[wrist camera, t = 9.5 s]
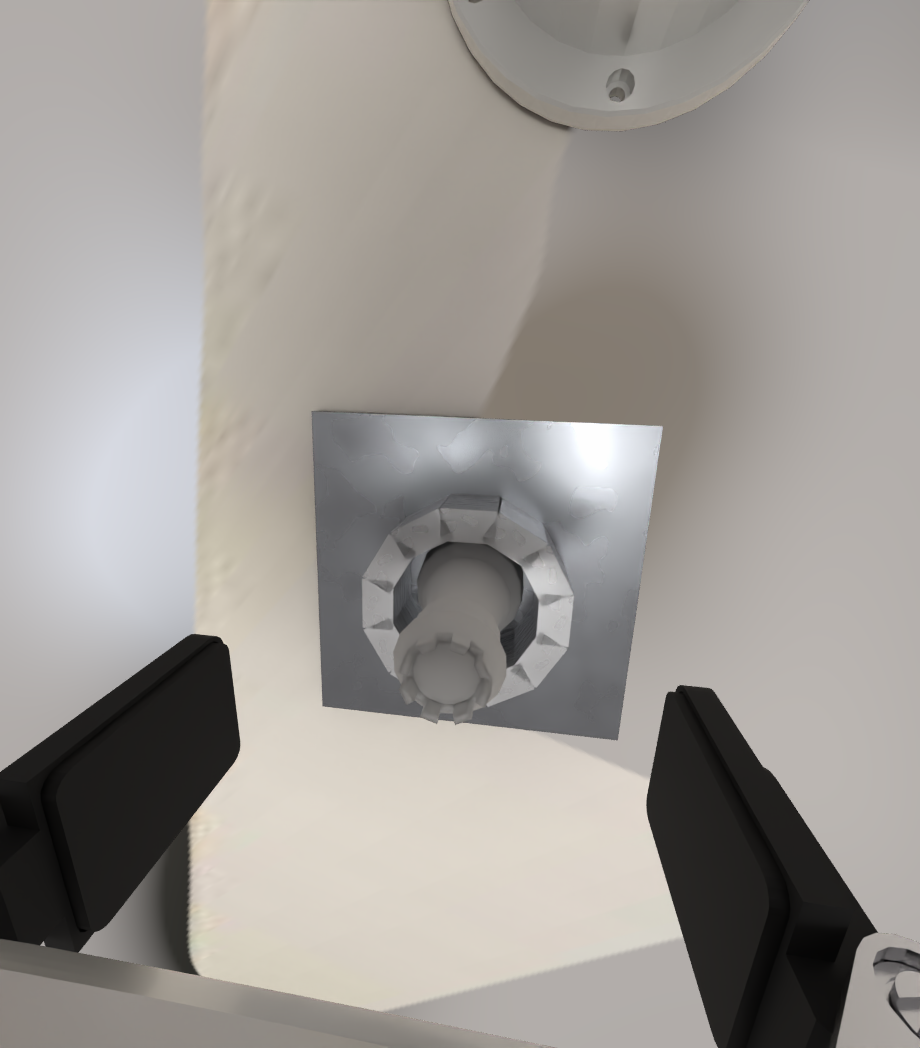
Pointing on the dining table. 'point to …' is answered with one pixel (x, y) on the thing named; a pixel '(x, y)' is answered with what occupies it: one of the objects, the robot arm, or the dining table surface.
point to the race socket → (506, 525)
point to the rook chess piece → (458, 630)
